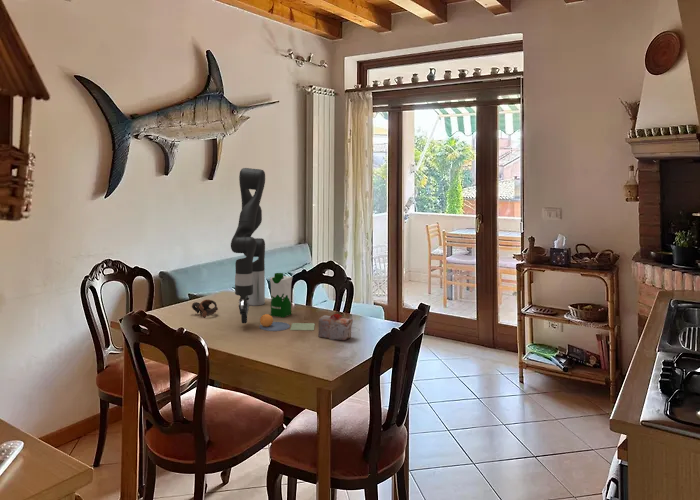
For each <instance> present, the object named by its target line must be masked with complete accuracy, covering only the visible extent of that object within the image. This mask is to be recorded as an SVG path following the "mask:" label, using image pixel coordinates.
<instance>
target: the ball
mask: <svg viewBox="0 0 700 500" xmlns="http://www.w3.org/2000/svg"><path fill="white" fill-rule="evenodd" d="M259 322H260V325H262V326H264V327H269V326H271V325H272V323H273V322H274V318H273V316H271V314H270V313H265V314H263V315H261V316H260V319H259Z"/></svg>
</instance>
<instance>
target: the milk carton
mask: <svg viewBox="0 0 700 500" xmlns="http://www.w3.org/2000/svg"><path fill="white" fill-rule="evenodd" d="M269 281H270V315H271V316H272V317H277V318H283V319H284V318H286V317H288V316H291V315H292V281H293V276H287V275H284V273H283V272H276V273H274V275H273V276H271V277H270V278H269Z"/></svg>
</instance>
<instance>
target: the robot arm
mask: <svg viewBox="0 0 700 500" xmlns="http://www.w3.org/2000/svg"><path fill="white" fill-rule="evenodd" d="M238 180H239V182H238V183H239V189H240V197H241V198H240V199H241V210H240V212H239V213H240V214H239V216H238V217H239V218H238V223H237V228H236V230H235V233H234V234H233V237H232V239H231V241H230V249H231V251H232V253H235V254H243V255H244V257H243V258H237V259H236V260H235V264H234V265H235V275H234V276H235V277H234V293H235V295H236V296H240V297H239V299H238V303H239V304H238V311H239V314H240V315H241V317H240V318H241V320H240V321H241V324H247V323H248V312H249V308H250V306H254V307H256V306H262V305H265V303H266V302H265V301H266V296H265V294H266V293H265V292H266V290H265V289H266V287H265V286H266V284H265V283H266V279H265V276H266V275H265V274H266V272H265V270H266V269H265V267H266V266H265V265H266V264H265V258H266V257H265V256H266V243H265V242H266V241H265V239H264V238H259V237H258V238H256V237H254V236H252V235H253V234H254V233H255V232H256V230H257V229H258V228H259V227H260V225H262V221H263V220H262V219H263V218H262V217H263V210H262V207H261V206H260V203H261V200H262V196H263V193H264V188H265V185H266V184H265V183H266V172H265V171H264V169H259V168H249V167H243V168H241V169H240V171H239V177H238ZM250 190H251V191H253V190H254V193H253V195H252V194H251V193H252V192H250ZM256 257H258V258H257V259H256V260H254V258H256Z"/></svg>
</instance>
